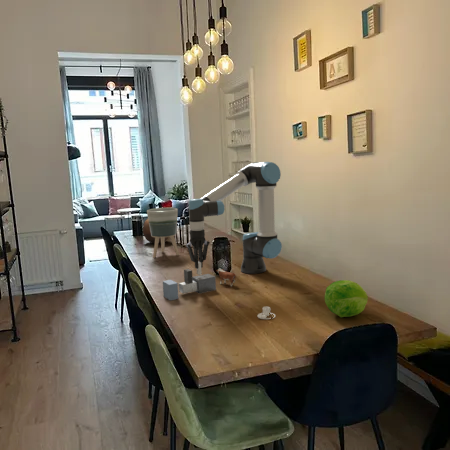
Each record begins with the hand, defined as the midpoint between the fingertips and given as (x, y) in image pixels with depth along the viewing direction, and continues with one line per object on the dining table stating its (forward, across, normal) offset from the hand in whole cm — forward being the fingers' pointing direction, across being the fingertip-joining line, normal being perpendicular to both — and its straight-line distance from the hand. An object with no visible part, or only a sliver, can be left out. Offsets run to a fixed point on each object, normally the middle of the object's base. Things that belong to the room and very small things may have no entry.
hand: (199, 274), depth 228 cm
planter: (+9, -20, -91) cm, 94 cm away
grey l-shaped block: (+8, +2, 0) cm, 8 cm away
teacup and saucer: (+10, -4, +47) cm, 48 cm away
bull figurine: (+9, -17, -2) cm, 20 cm away
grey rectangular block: (+9, -3, 0) cm, 10 cm away
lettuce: (+9, -35, +69) cm, 78 cm away
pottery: (+9, -33, -137) cm, 142 cm away
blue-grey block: (+9, +17, 0) cm, 19 cm away
